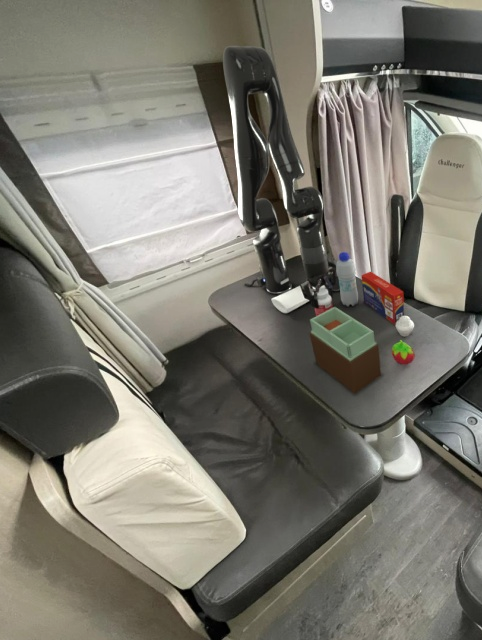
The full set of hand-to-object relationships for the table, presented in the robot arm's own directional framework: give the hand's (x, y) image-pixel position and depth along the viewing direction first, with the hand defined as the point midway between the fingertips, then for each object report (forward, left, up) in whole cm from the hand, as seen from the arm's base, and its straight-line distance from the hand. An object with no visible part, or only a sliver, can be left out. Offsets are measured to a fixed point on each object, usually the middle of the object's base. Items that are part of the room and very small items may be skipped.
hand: (323, 302), depth 123 cm
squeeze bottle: (-15, +4, -7) cm, 17 cm away
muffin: (+28, +8, -7) cm, 30 cm away
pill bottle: (0, 0, -7) cm, 7 cm away
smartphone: (-15, +19, -7) cm, 25 cm away
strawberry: (+36, -5, -7) cm, 37 cm away
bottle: (+1, +12, -7) cm, 14 cm away
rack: (+23, -15, -7) cm, 29 cm away
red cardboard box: (+14, +14, -7) cm, 22 cm away
